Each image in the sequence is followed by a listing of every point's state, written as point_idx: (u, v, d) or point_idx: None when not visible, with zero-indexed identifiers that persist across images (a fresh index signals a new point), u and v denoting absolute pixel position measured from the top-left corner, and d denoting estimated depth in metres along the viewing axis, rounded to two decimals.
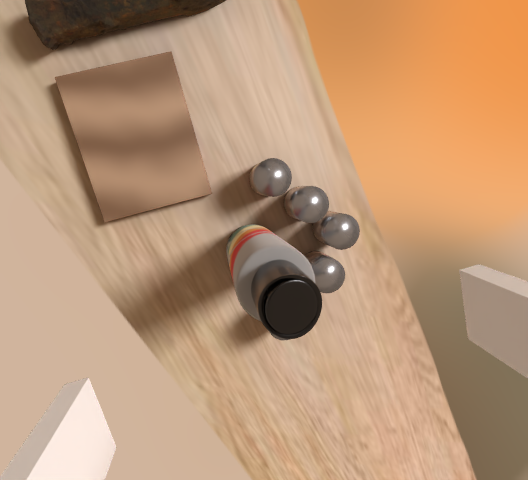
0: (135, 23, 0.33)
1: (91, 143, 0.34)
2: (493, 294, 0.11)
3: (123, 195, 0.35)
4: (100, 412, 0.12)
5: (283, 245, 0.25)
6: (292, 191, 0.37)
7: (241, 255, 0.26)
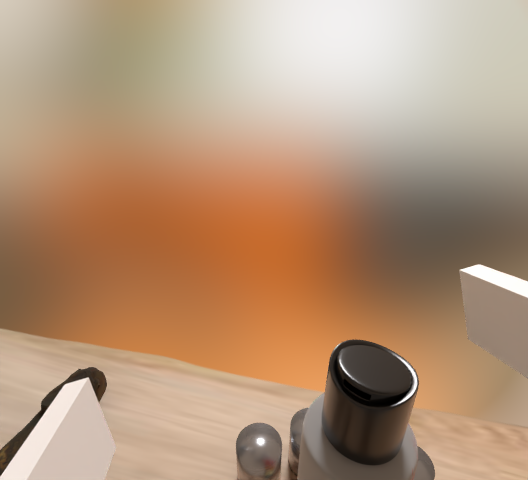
0: None
1: None
2: (493, 294, 0.11)
3: None
4: (100, 412, 0.12)
5: None
6: (289, 449, 0.30)
7: (303, 472, 0.18)
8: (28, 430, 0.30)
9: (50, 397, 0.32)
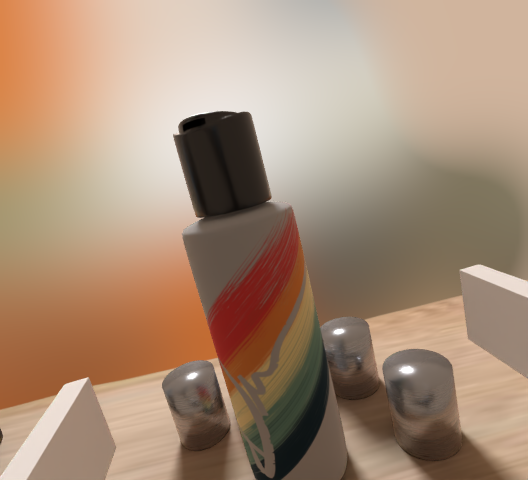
0: None
1: None
2: (493, 294, 0.11)
3: None
4: (100, 412, 0.12)
5: None
6: None
7: (196, 279, 0.17)
8: None
9: None
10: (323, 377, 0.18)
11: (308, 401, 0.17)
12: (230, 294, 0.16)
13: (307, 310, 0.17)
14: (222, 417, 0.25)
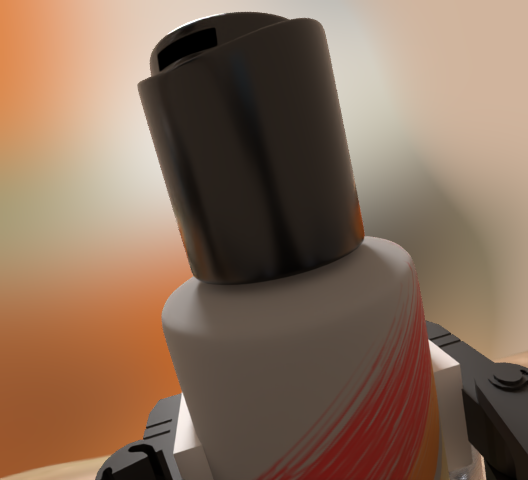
0: None
1: None
2: None
3: None
4: None
5: None
6: None
7: (194, 422, 0.07)
8: None
9: None
10: None
11: None
12: None
13: None
14: None
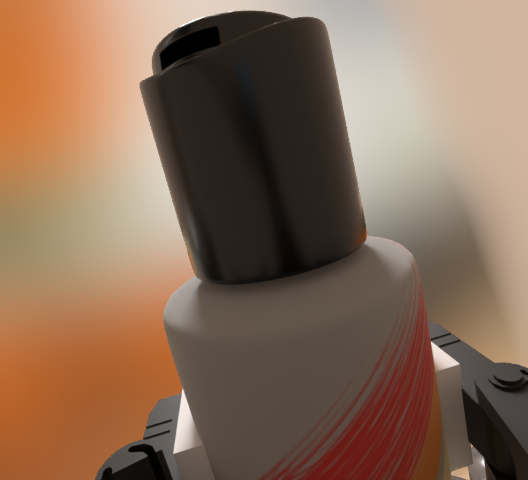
0: None
1: None
2: None
3: None
4: None
5: None
6: None
7: (195, 422, 0.07)
8: None
9: None
10: None
11: None
12: None
13: None
14: None
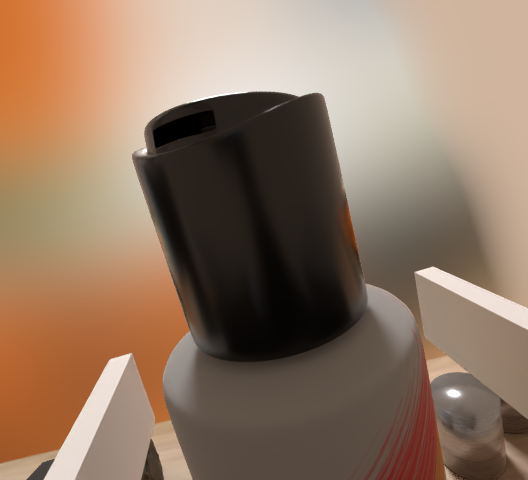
0: None
1: None
2: (440, 295, 0.12)
3: None
4: (142, 385, 0.12)
5: None
6: None
7: None
8: None
9: None
10: None
11: None
12: None
13: None
14: (504, 441, 0.21)
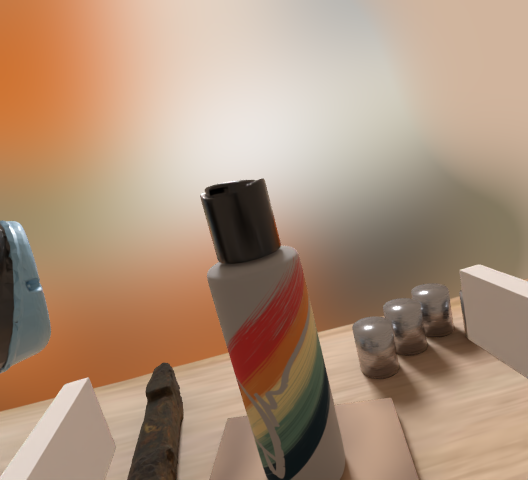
0: (176, 443, 0.30)
1: None
2: (493, 294, 0.11)
3: None
4: (100, 412, 0.12)
5: None
6: None
7: (219, 314, 0.21)
8: (153, 409, 0.32)
9: (151, 386, 0.34)
10: (324, 393, 0.22)
11: (313, 414, 0.21)
12: (248, 328, 0.19)
13: (311, 339, 0.21)
14: None
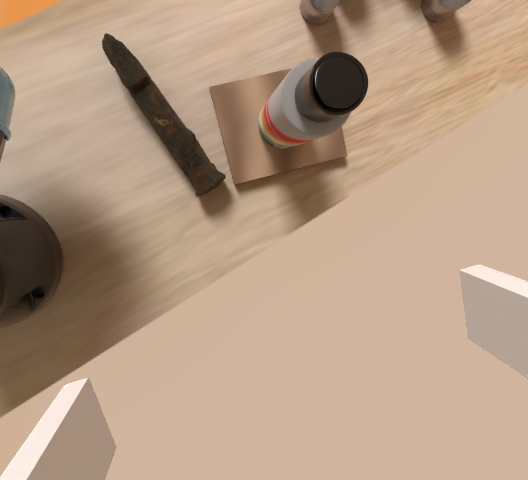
0: (179, 118, 0.40)
1: (285, 161, 0.42)
2: (493, 294, 0.11)
3: (326, 138, 0.42)
4: (100, 412, 0.12)
5: (281, 89, 0.27)
6: None
7: (288, 131, 0.29)
8: (148, 102, 0.37)
9: (127, 78, 0.36)
10: None
11: None
12: (309, 140, 0.30)
13: None
14: None
